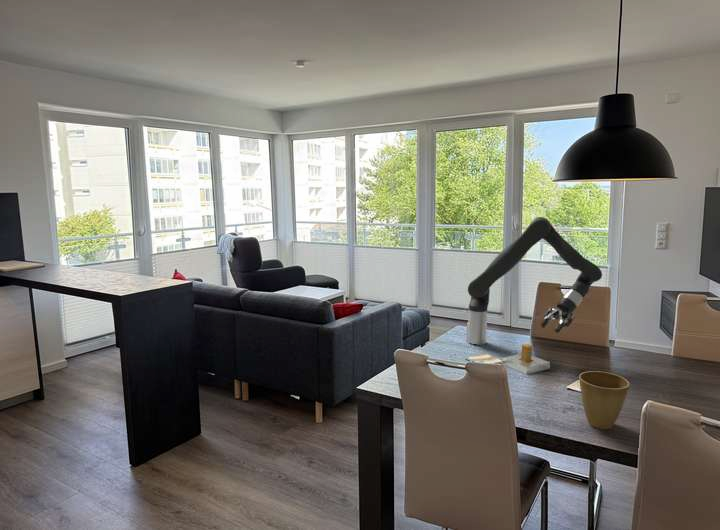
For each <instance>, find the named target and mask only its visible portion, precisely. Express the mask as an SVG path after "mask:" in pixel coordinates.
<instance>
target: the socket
mask: <svg viewBox="0 0 720 530" xmlns="http://www.w3.org/2000/svg"><path fill="white" fill-rule="evenodd" d="M502 361H503V363H502V365H504V366H506V365H507V366H506V367H509V368H511V369H512V370H515V371H518V372H521V373H522V374H524V375H528V374H534V373H537V372H542V371H546V370H550V366H551V361H547V360H545V359H542V358H541V357H540V358H539V357H537V356H534V355H532V357H531V362H527V363H526V362H524V361H521V353H520V354H514V355H510V356H505V357H502Z"/></svg>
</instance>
